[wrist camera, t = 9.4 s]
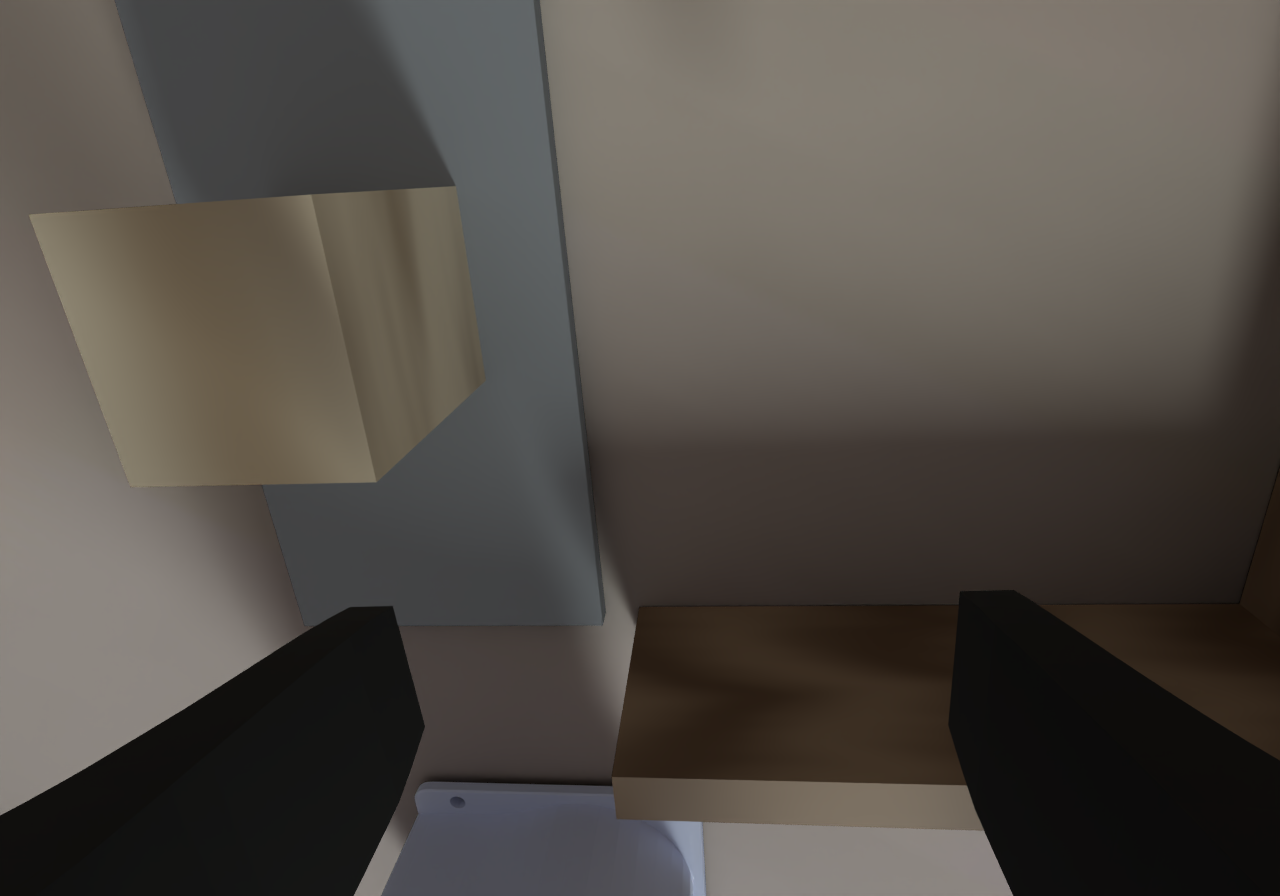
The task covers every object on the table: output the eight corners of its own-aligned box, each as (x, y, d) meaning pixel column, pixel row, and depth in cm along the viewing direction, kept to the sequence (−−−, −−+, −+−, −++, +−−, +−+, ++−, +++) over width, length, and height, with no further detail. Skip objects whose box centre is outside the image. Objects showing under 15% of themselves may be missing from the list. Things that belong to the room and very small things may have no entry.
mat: (315, 614, 21) (304, 626, 20) (85, -168, 14) (59, -182, 13) (605, 612, 20) (602, 625, 19) (514, -232, 13) (506, -250, 12)
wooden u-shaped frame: (642, 640, 20) (616, 819, 15) (560, -312, 12) (439, -701, 7) (1277, 641, 18) (1525, 847, 13) (1648, -488, 10) (2698, -1226, 5)
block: (314, 387, 17) (130, 487, 12) (267, 199, 16) (27, 214, 10) (485, 380, 17) (376, 482, 11) (455, 186, 15) (310, 194, 10)
